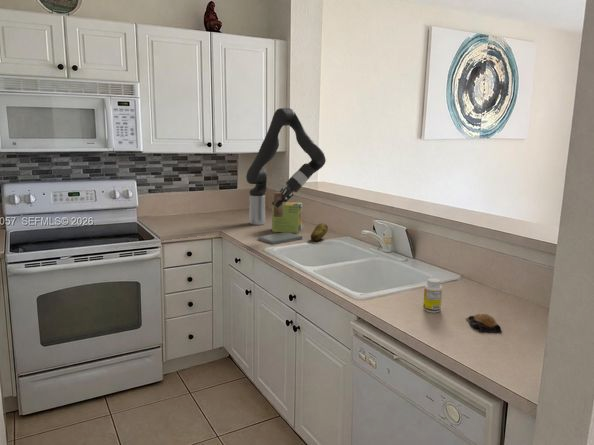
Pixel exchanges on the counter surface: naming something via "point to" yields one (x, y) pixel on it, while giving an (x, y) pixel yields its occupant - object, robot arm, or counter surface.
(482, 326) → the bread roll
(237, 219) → the counter surface
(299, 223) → the protein box
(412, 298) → the counter surface
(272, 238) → the slate board
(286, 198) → the robot arm
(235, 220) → the counter surface
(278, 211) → the walnut roller
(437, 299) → the supplement bottle
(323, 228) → the potato
